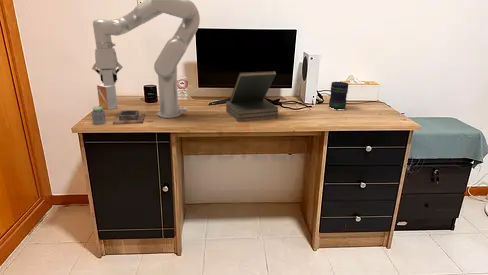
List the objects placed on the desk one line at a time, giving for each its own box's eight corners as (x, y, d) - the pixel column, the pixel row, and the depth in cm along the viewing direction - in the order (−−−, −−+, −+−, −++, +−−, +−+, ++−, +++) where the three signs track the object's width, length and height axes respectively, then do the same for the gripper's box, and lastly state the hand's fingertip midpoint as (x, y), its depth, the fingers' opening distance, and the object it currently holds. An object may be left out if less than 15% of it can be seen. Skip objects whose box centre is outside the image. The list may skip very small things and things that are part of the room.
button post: (105, 120, 174) (104, 109, 172) (103, 123, 169) (102, 112, 167) (95, 121, 173) (93, 109, 171) (93, 124, 169) (91, 112, 166)
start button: (104, 119, 173) (103, 106, 171) (103, 122, 169) (101, 108, 167) (95, 119, 173) (93, 106, 170) (93, 122, 169) (91, 108, 166)
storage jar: (347, 110, 201) (350, 85, 196) (330, 110, 201) (333, 85, 196) (343, 106, 211) (346, 81, 205) (327, 105, 211) (329, 81, 205)
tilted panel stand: (263, 109, 202) (265, 66, 193) (277, 118, 185) (280, 72, 176) (225, 112, 194) (226, 67, 185) (237, 122, 177) (238, 74, 168)
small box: (99, 107, 196) (96, 84, 191) (109, 105, 201) (106, 83, 196) (108, 110, 191) (105, 86, 187) (118, 107, 196) (115, 85, 192)
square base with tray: (144, 115, 184) (144, 108, 183) (142, 123, 172) (142, 116, 170) (117, 115, 182) (116, 109, 180) (113, 124, 169) (112, 117, 168)
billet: (115, 83, 181) (113, 68, 178) (114, 85, 176) (112, 69, 174) (105, 83, 180) (103, 68, 177) (103, 86, 176) (101, 70, 173)
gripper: (123, 44, 176) (127, 80, 183) (87, 45, 173) (93, 81, 180) (121, 46, 169) (125, 82, 176) (84, 47, 166) (90, 84, 173)
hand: (109, 81), depth 178 cm, fingers closed on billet, 5 cm apart
